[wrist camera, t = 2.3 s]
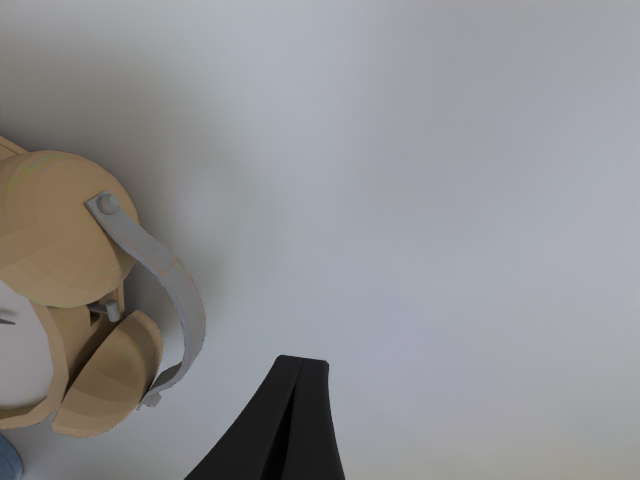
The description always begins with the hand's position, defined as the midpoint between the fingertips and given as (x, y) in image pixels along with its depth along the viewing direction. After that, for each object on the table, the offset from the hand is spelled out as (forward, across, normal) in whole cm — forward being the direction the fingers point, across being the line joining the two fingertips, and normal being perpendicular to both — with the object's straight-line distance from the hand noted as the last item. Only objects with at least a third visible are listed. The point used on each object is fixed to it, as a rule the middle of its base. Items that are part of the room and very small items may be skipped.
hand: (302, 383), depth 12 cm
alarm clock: (+4, +11, 0) cm, 12 cm away
